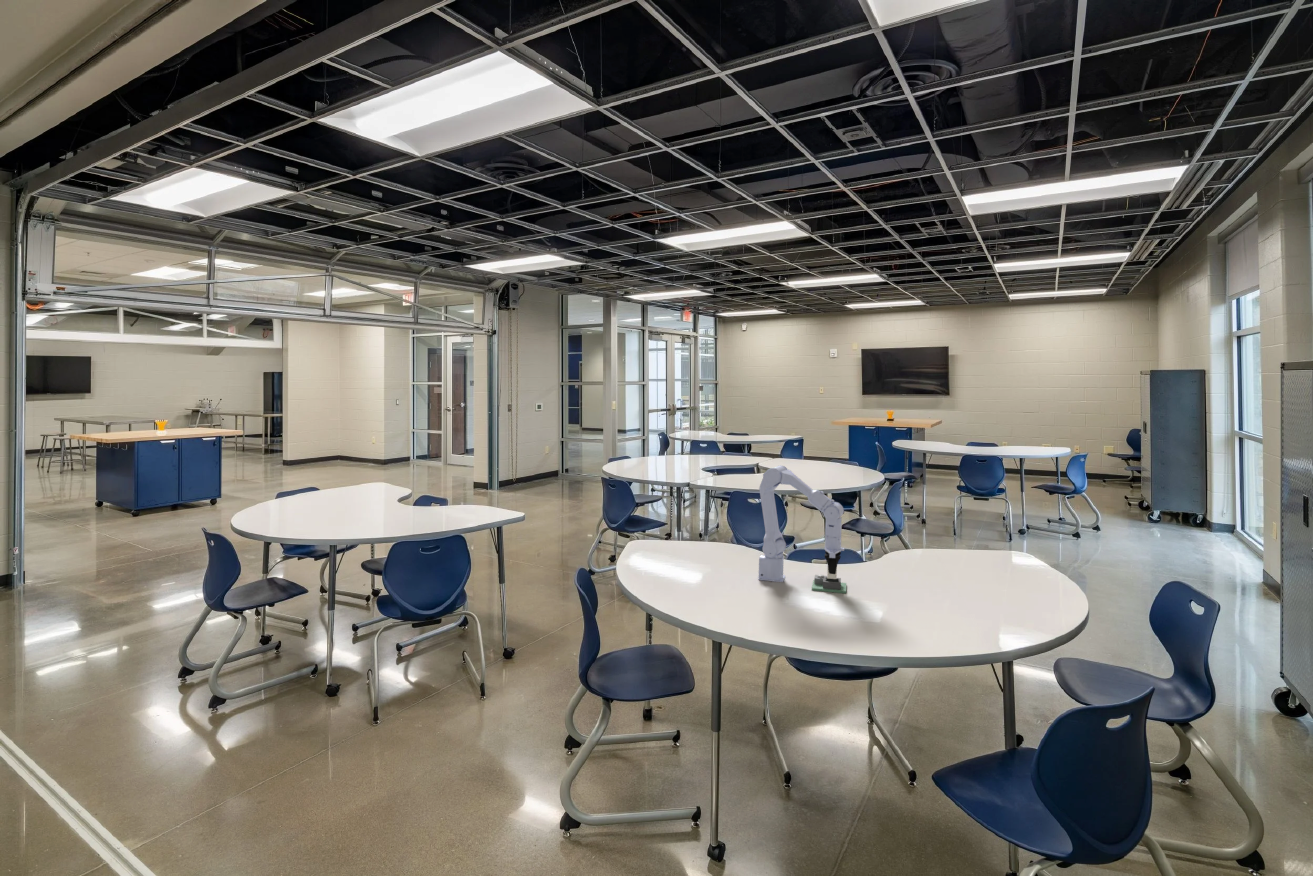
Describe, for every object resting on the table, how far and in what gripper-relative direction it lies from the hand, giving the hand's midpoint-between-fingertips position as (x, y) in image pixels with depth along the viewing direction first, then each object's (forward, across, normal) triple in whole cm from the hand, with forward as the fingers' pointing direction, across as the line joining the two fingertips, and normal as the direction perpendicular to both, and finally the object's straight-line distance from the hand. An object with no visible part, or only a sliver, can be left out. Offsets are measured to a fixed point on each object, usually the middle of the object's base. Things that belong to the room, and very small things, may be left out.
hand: (832, 572), depth 227 cm
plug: (+2, 0, 0) cm, 2 cm away
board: (+6, +1, +1) cm, 6 cm away
